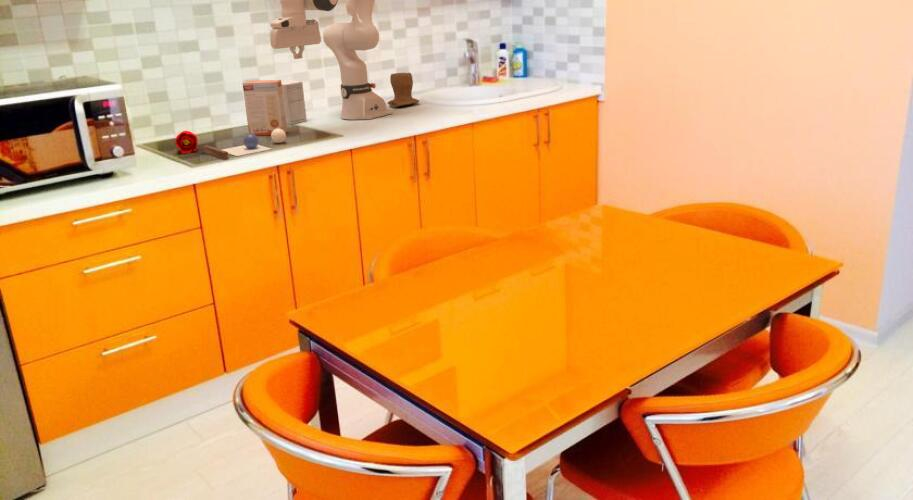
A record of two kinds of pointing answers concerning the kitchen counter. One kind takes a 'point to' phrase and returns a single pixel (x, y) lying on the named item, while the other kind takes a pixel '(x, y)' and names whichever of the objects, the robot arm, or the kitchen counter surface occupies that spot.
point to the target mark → (245, 150)
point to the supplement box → (293, 101)
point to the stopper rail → (216, 152)
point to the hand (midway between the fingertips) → (298, 58)
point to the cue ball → (278, 135)
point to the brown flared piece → (402, 90)
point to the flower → (186, 141)
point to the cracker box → (264, 106)
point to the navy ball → (250, 141)
